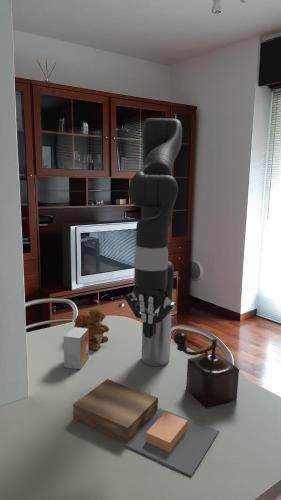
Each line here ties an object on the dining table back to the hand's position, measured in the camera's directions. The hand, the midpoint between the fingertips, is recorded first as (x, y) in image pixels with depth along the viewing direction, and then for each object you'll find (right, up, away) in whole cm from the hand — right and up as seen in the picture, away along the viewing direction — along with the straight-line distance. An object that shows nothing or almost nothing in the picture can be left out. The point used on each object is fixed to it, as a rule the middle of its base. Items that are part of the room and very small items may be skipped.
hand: (149, 336), depth 87 cm
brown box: (-8, -21, +6) cm, 23 cm away
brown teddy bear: (-21, -13, +47) cm, 53 cm away
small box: (-22, -16, +32) cm, 42 cm away
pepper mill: (+15, -20, +15) cm, 29 cm away
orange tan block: (+4, -20, -2) cm, 21 cm away
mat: (+6, -23, -2) cm, 24 cm away
